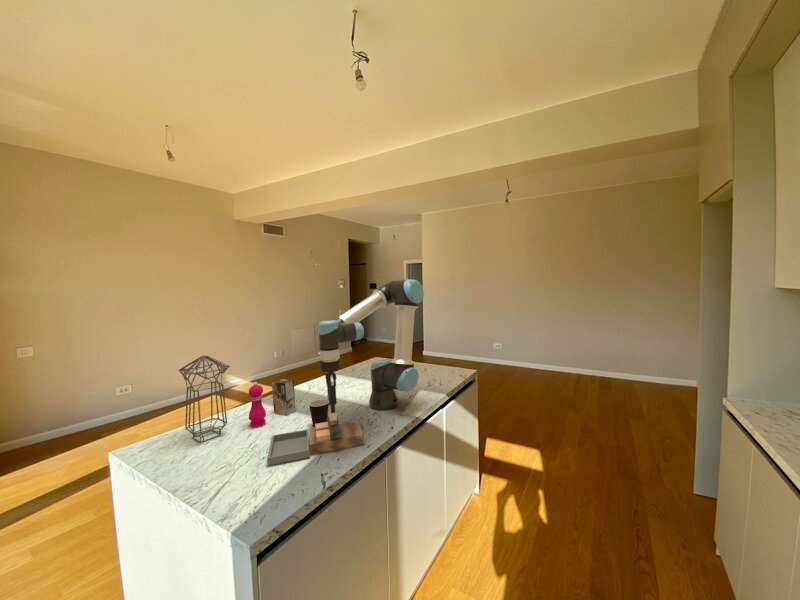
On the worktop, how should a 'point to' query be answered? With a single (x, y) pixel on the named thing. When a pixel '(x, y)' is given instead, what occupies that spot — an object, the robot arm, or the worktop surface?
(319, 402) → the coffee mug
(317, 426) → the tile
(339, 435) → the scraper
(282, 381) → the coffee box
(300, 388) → the worktop surface
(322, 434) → the tile
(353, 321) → the robot arm
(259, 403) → the pepper mill
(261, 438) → the worktop surface
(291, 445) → the tray
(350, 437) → the brown flat wooden block
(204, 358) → the geometric lantern
